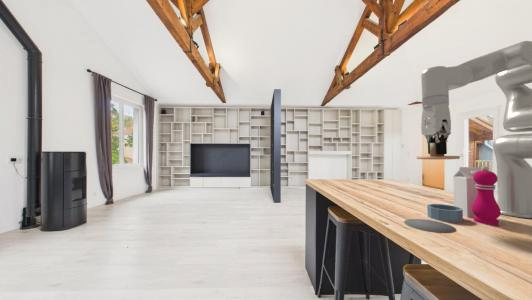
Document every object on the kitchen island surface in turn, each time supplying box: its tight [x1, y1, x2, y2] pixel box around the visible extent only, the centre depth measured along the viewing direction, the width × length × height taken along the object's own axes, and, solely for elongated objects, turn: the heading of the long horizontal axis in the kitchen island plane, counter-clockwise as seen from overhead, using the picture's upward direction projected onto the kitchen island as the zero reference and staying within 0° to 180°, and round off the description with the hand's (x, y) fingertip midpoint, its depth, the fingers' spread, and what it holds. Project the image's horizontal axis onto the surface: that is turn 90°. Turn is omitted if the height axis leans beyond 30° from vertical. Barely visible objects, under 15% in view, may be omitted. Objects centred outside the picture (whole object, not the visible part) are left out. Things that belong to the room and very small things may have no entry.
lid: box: [416, 143, 461, 160], centre depth 78 cm, size 12×12×6 cm
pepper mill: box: [472, 165, 502, 227], centre depth 76 cm, size 7×7×20 cm
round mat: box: [403, 218, 457, 234], centre depth 73 cm, size 14×14×1 cm
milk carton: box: [452, 166, 482, 219], centre depth 84 cm, size 7×7×19 cm
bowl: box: [426, 203, 464, 224], centre depth 81 cm, size 10×10×4 cm
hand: (437, 153), depth 78 cm, fingers closed on lid, 4 cm apart
